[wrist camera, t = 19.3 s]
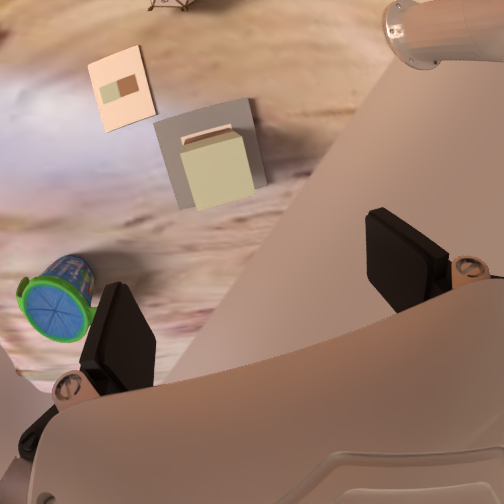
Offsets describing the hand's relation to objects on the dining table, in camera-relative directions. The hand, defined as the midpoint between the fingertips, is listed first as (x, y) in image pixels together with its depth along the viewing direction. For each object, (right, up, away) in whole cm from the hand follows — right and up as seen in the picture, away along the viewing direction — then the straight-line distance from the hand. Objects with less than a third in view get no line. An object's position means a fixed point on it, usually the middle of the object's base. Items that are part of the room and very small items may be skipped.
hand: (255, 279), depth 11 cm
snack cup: (-28, -3, +31) cm, 42 cm away
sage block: (-4, +11, +20) cm, 23 cm away
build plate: (-5, +14, +26) cm, 30 cm away
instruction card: (-17, +22, +20) cm, 34 cm away
